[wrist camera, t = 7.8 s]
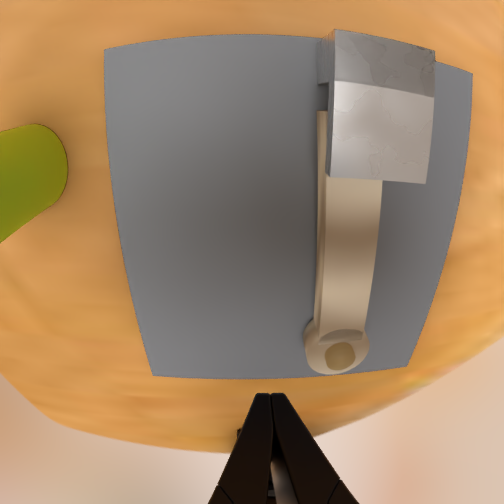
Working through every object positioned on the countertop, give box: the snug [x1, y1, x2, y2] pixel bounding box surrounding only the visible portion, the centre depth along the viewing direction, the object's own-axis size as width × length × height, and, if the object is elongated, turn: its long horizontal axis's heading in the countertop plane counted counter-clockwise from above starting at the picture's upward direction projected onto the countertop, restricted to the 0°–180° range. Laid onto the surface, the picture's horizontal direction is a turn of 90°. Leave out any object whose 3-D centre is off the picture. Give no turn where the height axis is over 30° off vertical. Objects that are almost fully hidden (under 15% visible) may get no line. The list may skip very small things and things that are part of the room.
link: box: [303, 110, 382, 374], centre depth 18 cm, size 17×4×3 cm, turn 4°
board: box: [104, 34, 473, 379], centre depth 19 cm, size 24×22×1 cm
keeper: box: [316, 29, 435, 184], centre depth 14 cm, size 7×5×4 cm
